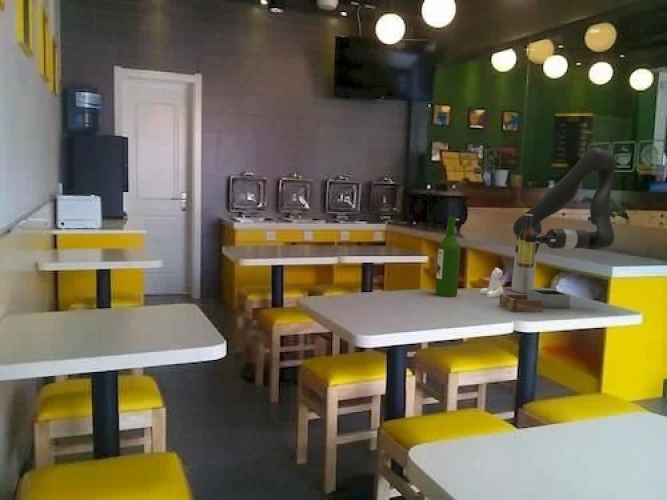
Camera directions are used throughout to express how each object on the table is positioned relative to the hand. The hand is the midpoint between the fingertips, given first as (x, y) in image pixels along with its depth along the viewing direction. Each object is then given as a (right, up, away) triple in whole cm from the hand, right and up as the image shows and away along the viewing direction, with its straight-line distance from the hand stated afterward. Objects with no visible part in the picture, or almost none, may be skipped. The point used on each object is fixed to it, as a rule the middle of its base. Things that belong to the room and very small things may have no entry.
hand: (521, 237), depth 232 cm
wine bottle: (-24, -23, +25) cm, 42 cm away
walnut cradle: (+1, -27, +4) cm, 27 cm away
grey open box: (+15, -26, +15) cm, 34 cm away
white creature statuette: (-3, -24, +29) cm, 38 cm away
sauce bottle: (+2, -11, +2) cm, 11 cm away
